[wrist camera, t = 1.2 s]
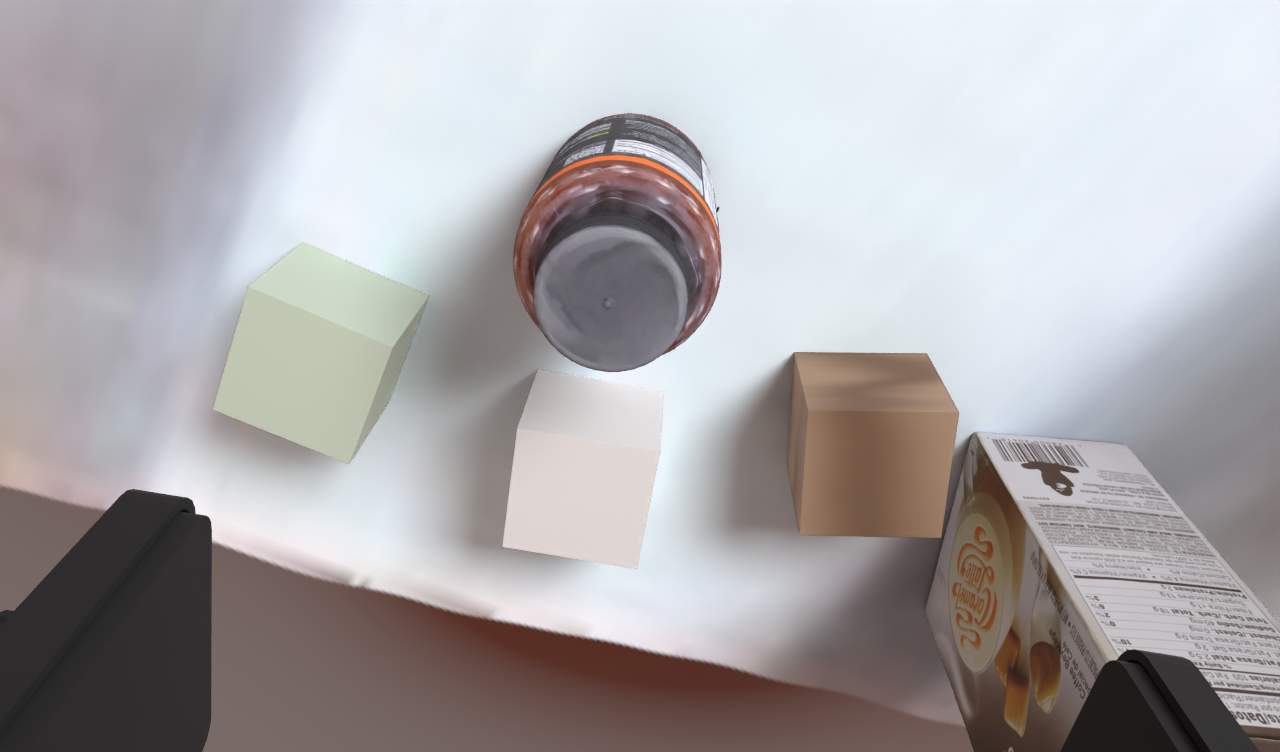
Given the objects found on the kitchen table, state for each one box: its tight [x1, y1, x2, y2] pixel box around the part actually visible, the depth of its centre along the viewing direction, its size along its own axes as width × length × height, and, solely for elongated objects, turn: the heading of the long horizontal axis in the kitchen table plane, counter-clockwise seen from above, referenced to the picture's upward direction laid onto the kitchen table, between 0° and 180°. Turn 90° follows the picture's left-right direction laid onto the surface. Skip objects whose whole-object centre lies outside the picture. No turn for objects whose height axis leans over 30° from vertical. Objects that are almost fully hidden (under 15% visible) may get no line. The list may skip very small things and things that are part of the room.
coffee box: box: [925, 432, 1280, 752], centre depth 33 cm, size 9×6×16 cm
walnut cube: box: [787, 352, 959, 538], centre depth 36 cm, size 5×5×5 cm
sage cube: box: [213, 242, 429, 464], centre depth 35 cm, size 5×5×5 cm
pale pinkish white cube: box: [502, 369, 664, 569], centre depth 37 cm, size 5×5×5 cm
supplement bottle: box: [513, 113, 721, 372], centre depth 30 cm, size 6×6×11 cm
